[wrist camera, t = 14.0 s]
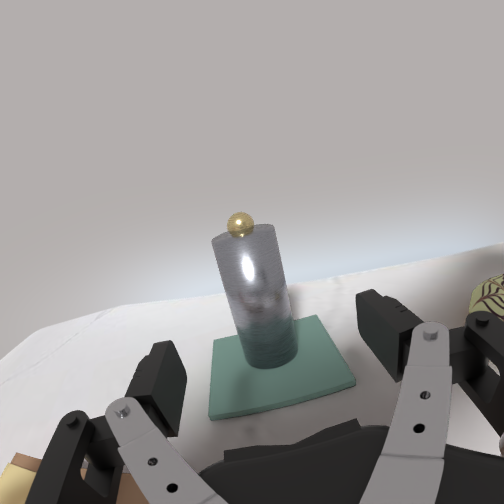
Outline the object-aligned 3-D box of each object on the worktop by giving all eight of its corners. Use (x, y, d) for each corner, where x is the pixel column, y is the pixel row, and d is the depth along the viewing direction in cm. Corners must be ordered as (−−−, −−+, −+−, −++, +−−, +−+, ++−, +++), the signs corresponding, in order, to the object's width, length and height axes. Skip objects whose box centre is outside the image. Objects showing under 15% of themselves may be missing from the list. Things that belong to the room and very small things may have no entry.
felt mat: (317, 319, 29) (316, 314, 29) (355, 385, 18) (355, 379, 18) (215, 344, 29) (213, 339, 29) (211, 420, 18) (208, 415, 18)
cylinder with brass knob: (292, 331, 27) (264, 202, 23) (304, 360, 22) (274, 208, 19) (243, 343, 27) (208, 216, 23) (247, 374, 22) (203, 226, 19)
